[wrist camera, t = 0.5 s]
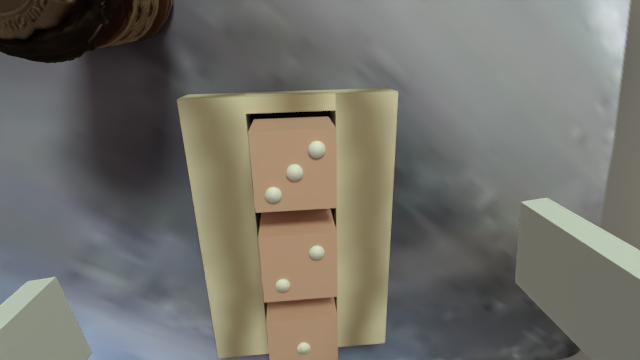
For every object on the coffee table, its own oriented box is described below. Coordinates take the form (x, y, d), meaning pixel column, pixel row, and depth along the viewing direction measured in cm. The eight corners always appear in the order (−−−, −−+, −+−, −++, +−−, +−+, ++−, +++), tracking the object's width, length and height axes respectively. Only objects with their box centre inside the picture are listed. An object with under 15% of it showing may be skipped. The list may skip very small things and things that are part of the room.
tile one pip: (272, 335, 33) (271, 378, 29) (268, 286, 31) (266, 324, 27) (331, 330, 34) (338, 371, 29) (330, 281, 32) (337, 318, 27)
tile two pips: (267, 268, 31) (263, 304, 26) (261, 210, 29) (257, 238, 24) (330, 263, 31) (337, 298, 27) (329, 206, 29) (337, 233, 25)
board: (223, 334, 36) (218, 358, 33) (187, 94, 27) (176, 99, 25) (377, 320, 37) (384, 342, 34) (387, 87, 29) (398, 91, 26)
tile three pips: (260, 188, 28) (255, 214, 24) (253, 119, 26) (247, 132, 22) (329, 185, 28) (337, 209, 24) (328, 116, 27) (336, 128, 22)
